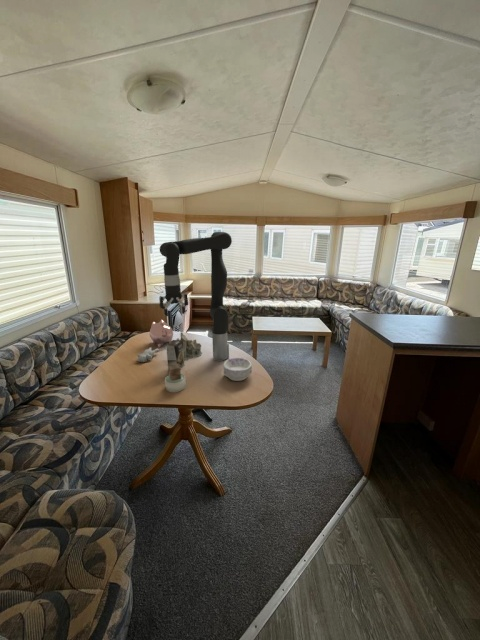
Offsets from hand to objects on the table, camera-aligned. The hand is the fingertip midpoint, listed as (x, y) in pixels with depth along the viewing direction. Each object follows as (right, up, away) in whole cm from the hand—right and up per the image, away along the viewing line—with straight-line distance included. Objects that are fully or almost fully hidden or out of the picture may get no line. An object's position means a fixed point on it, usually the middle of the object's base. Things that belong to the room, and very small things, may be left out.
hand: (175, 314), depth 136 cm
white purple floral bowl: (+33, -34, +6) cm, 47 cm away
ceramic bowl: (+1, -37, -3) cm, 37 cm away
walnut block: (+1, -32, -5) cm, 32 cm away
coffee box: (-3, -31, +15) cm, 35 cm away
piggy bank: (-22, -20, +52) cm, 60 cm away
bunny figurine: (-24, -27, +29) cm, 46 cm away
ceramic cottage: (0, -26, +32) cm, 41 cm away
